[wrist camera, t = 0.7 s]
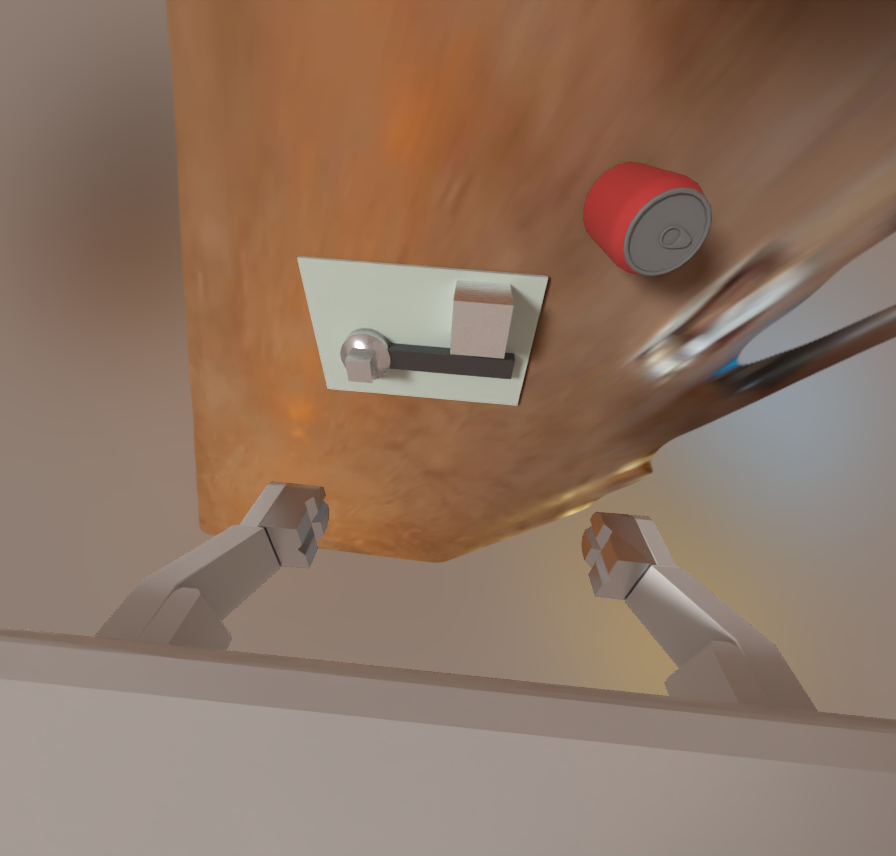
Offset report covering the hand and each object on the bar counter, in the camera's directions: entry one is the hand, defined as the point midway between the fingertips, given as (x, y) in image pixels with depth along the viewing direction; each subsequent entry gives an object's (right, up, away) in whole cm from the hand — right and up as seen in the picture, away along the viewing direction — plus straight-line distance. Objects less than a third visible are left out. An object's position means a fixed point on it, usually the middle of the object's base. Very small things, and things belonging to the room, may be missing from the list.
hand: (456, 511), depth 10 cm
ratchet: (-3, +12, +34) cm, 37 cm away
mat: (-4, +14, +34) cm, 37 cm away
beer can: (+16, +24, +22) cm, 37 cm away
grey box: (+4, +17, +30) cm, 34 cm away
